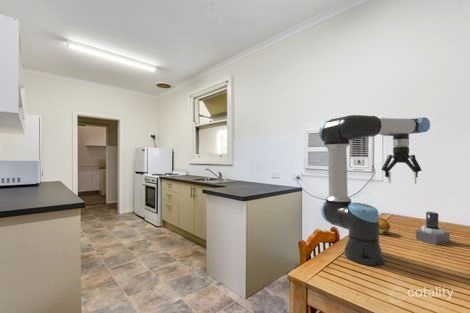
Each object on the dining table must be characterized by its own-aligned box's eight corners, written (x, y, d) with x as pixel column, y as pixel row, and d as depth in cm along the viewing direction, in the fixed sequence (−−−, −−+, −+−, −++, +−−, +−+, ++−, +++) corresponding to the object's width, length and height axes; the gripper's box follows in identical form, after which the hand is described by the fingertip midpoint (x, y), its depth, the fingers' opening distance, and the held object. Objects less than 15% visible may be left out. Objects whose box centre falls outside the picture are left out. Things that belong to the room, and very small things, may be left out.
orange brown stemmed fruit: (383, 229, 139) (385, 215, 137) (393, 239, 128) (396, 224, 126) (366, 228, 140) (368, 214, 138) (375, 238, 129) (377, 223, 127)
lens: (441, 233, 118) (441, 213, 117) (430, 232, 118) (430, 213, 118) (433, 229, 123) (433, 211, 123) (423, 229, 123) (423, 211, 123)
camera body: (435, 245, 114) (435, 231, 114) (416, 239, 122) (415, 226, 122) (449, 241, 119) (449, 228, 119) (429, 236, 127) (429, 224, 127)
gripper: (419, 147, 131) (420, 182, 130) (374, 147, 134) (375, 181, 133) (429, 146, 123) (429, 184, 123) (381, 146, 126) (381, 183, 126)
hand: (401, 183), depth 128 cm, fingers open, 13 cm apart
